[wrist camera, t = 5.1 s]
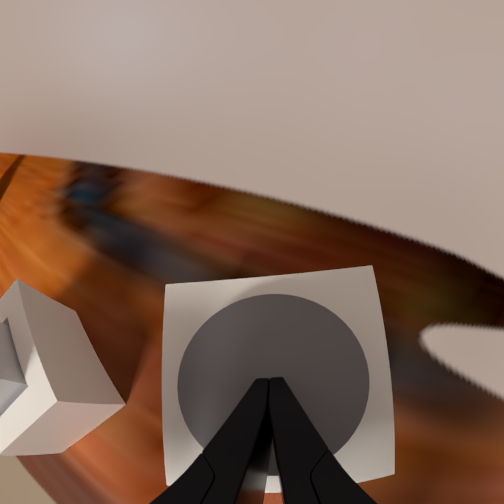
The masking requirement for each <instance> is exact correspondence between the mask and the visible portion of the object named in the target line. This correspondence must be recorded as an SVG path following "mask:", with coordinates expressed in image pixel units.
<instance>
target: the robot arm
mask: <svg viewBox="0 0 504 504" xmlns="http://www.w3.org/2000/svg"><path fill="white" fill-rule="evenodd" d="M272 439H273V446H274V452H275V458H276V465H277V471H278V477H279V483H280V489H281V495H282V501H283V504H377V503H376V502H375V501H374V500H373V499H372V498H371V497H370V496H369V495H368V494H367V493H366V492H365V491H364V490H363V489H362V488H361V487H360V486H359V485H358V484H357V483H356V482H355V481H354V480H353V479H352V478H351V477H350V476H349V475H348V473H347V472H346V471H345V470H344V469H343V467H342V466H341V465H340V463H339V462H338V461H337V459H336V458H335V456H334V455H333V453H332V452H331V450H329V448H328V446H327V445H326V443H325V442H324V440H323V439H322V437H321V436H320V434H319V433H318V431H317V430H316V428H315V426H314V425H313V423H312V422H311V420H310V419H309V417H308V416H307V414H306V413H305V411H304V409H303V408H302V406H301V405H300V403H299V402H298V400H297V398H296V397H295V395H294V394H293V392H292V390H291V389H290V387H289V386H288V384H287V382H286V381H285V379H284V378H283V377H271V378H270V380H269V378H256V379H255V380H254V382H253V383H252V385H251V386H250V387H249V389H248V390H247V392H246V393H245V395H244V396H243V397H242V399H241V400H240V402H239V403H238V404H237V406H236V407H235V408H234V410H233V411H232V413H231V414H230V415H229V417H228V418H227V419H226V421H225V422H224V423H223V425H222V426H221V427H220V429H219V430H218V431H217V433H216V434H215V435H214V437H213V438H212V439H211V440H210V442H209V443H208V444H207V446H206V447H205V448H204V449H203V451H202V453H200V454H199V455H198V457H197V458H196V459H195V461H194V462H193V463H192V464H191V465H190V466H189V467H188V469H187V470H186V471H185V472H184V473H183V474H182V475H181V476H180V477H179V478H178V479H177V480H176V481H175V482H174V483H173V484H171V485H170V486H169V487H168V488H167V489H166V490H165V491H163V492H162V493H161V494H160V495H159V496H158V497H156V498H155V499H154V500H153V501H152V502H150V503H149V504H263V500H264V494H265V488H266V482H267V475H268V469H269V462H270V455H271V448H272Z"/></svg>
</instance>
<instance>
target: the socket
mask: <svg viewBox="0 0 504 504" xmlns="http://www.w3.org/2000/svg"><path fill="white" fill-rule="evenodd" d="M264 294H286V295H293V296H298V297H302V298H305V299H308V300H311V301H314V302H316V303H318V304H320V305H322V306H324V307H326V308H327V309H329V310H330V311H332V312H333V313H335V314H336V315H337V316H338V317H339V318H340V319H342V320H343V321H344V322H345V323H346V325H347V326H348V327H349V328H350V329H351V330H352V332H353V333H354V335H355V336H356V338H357V339H358V341H359V343H360V345H361V347H362V349H363V351H364V354H365V358H366V361H367V365H368V371H369V386H370V387H369V396H368V402H367V405H366V409H365V412H364V415H363V417H362V420H361V422H360V424H359V426H358V427H357V429H356V431H355V432H354V434H353V435H352V437H351V438H350V439H349V440H348V442H347V443H346V444H345V445H344V446H343V447H342V448H341V449H340V450H339V451H338V452H337V453H335V454H334V456H335V458H336V459H337V461H338V462H339V463H340V465H341V466H342V467H343V469H344V470H345V471H346V472H347V473H348V475H349V476H350V477H351V478H352V479H353V480H354V481H355V482H356V483H360V482H364V481H369V480H373V479H377V478H381V477H385V476H389V475H393V474H394V473H395V435H394V412H393V397H392V385H391V375H390V366H389V357H388V350H387V342H386V335H385V329H384V323H383V317H382V311H381V305H380V300H379V295H378V290H377V285H376V280H375V275H374V271H373V266H372V265H370V266H361V267H353V268H344V269H335V270H325V271H316V272H306V273H296V274H286V275H276V276H265V277H254V278H242V279H231V280H219V281H206V282H193V283H179V284H166V288H165V302H164V320H163V343H162V421H163V443H164V459H165V472H166V483H167V485H169V486H170V485H171V484H173V483H174V482H175V481H176V480H177V479H178V478H179V477H180V476H181V475H182V474H183V473H184V472H185V471H186V470H187V469H188V467H189V466H190V465H191V464H192V463H193V462H194V461H195V459H196V458H197V457H198V455H199V454H200V453H202V451H203V449H204V448H203V447H202V446H201V445H200V444H199V443H198V442H197V441H196V439H195V438H194V437H193V435H192V434H191V432H190V431H189V429H188V427H187V425H186V423H185V421H184V418H183V415H182V413H181V410H180V405H179V400H178V390H177V384H178V373H179V368H180V363H181V360H182V357H183V354H184V352H185V350H186V348H187V346H188V344H189V342H190V341H191V339H192V337H193V336H194V334H195V333H196V332H197V331H198V329H199V328H200V327H201V326H202V325H203V324H204V323H205V322H206V321H207V320H208V319H209V318H210V317H211V316H213V315H214V314H215V313H217V312H218V311H220V310H221V309H223V308H225V307H226V306H228V305H230V304H232V303H234V302H237V301H239V300H242V299H245V298H249V297H252V296H257V295H264ZM278 492H281V489H280V483H279V477H278V476H267V482H266V488H265V493H278Z"/></svg>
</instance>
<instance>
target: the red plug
mask: <svg viewBox="0 0 504 504" xmlns="http://www.w3.org/2000/svg"><path fill="white" fill-rule="evenodd" d="M27 387H28V385H27V382H26V379H25V377H24V374H23V371H22V368H21V365H20V362H19V358H18V355H17V352H16V348H15V345H14V341H13V338H12V334H11V330H10V326H8V325H5V324H3V323H1V322H0V414H3V413H4V412H5V411H6V410H7V409H8V408H9V407H10V405H11V404H12V403H13V402H14V401H15V400H16V399H17V398H18V397H19V396H20V395H21V394H22V393H23V392H24V390H25V389H26V388H27Z"/></svg>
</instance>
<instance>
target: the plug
mask: <svg viewBox="0 0 504 504" xmlns="http://www.w3.org/2000/svg"><path fill="white" fill-rule="evenodd" d="M271 377H283V378H284V379H285V381H286V382H287V384H288V386H289V387H290V389H291V390H292V392H293V394H294V395H295V397H296V398H297V400H298V402H299V403H300V405H301V406H302V408H303V409H304V411H305V413H306V414H307V416H308V417H309V419H310V420H311V422H312V423H313V425H314V426H315V428H316V430H317V431H318V433H319V434H320V436H321V437H322V439H323V440H324V442H325V443H326V445H327V446H328V448H329V450H331V452H332V453H333V455H334V454H335V453H337V452H338V451H339V450H340V449H341V448H342V447H343V446H344V445H345V444H346V443H347V442H348V440H349V439H350V438H351V437H352V435H353V434H354V432H355V431H356V429H357V427H358V426H359V424H360V422H361V420H362V417H363V415H364V412H365V409H366V405H367V402H368V396H369V387H370V386H369V371H368V365H367V361H366V358H365V354H364V351H363V349H362V347H361V345H360V343H359V341H358V339H357V338H356V336H355V335H354V333H353V332H352V330H351V329H350V328H349V327H348V326H347V325H346V323H345V322H344V321H343V320H342V319H340V318H339V317H338V316H337V315H336V314H335V313H333V312H332V311H330V310H329V309H327V308H326V307H324V306H322V305H320V304H318V303H316V302H314V301H311V300H308V299H305V298H302V297H298V296H293V295H286V294H264V295H257V296H252V297H249V298H245V299H242V300H239V301H237V302H234V303H232V304H230V305H228V306H226V307H225V308H223V309H221V310H220V311H218V312H217V313H215V314H214V315H213V316H211V317H210V318H209V319H208V320H207V321H206V322H205V323H204V324H203V325H202V326H201V327H200V328H199V329H198V331H197V332H196V333H195V334H194V336H193V337H192V339H191V341H190V342H189V344H188V346H187V348H186V350H185V352H184V354H183V357H182V360H181V363H180V368H179V373H178V384H177V390H178V400H179V405H180V410H181V413H182V415H183V418H184V421H185V423H186V425H187V427H188V429H189V431H190V432H191V434H192V435H193V437H194V438H195V439H196V441H197V442H198V443H199V444H200V445H201V446H202V447H203V448H205V447H206V446H207V444H208V443H209V442H210V440H211V439H212V438H213V437H214V435H215V434H216V433H217V431H218V430H219V429H220V427H221V426H222V425H223V423H224V422H225V421H226V419H227V418H228V417H229V415H230V414H231V413H232V411H233V410H234V408H235V407H236V406H237V404H238V403H239V402H240V400H241V399H242V397H243V396H244V395H245V393H246V392H247V390H248V389H249V387H250V386H251V385H252V383H253V382H254V380H255V379H256V378H269V380H270V378H271ZM267 476H278V471H277V465H276V458H275V452H274V446H273V439H272V448H271V455H270V462H269V469H268V475H267Z"/></svg>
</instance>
